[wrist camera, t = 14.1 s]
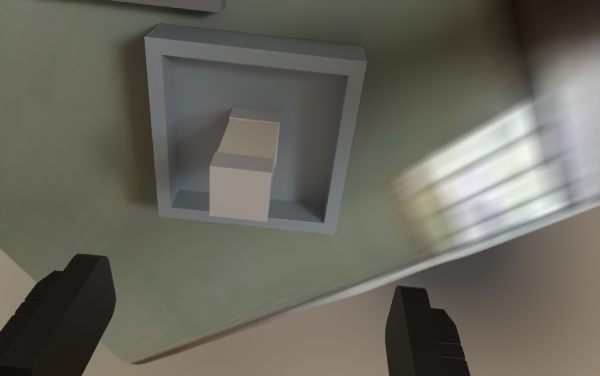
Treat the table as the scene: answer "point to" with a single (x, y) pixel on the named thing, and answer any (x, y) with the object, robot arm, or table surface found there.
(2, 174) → the table surface
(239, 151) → the block
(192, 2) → the grey stepped block piece
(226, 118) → the parts tray
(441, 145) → the table surface
